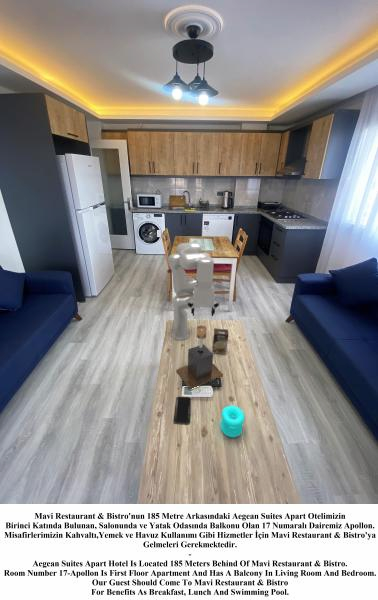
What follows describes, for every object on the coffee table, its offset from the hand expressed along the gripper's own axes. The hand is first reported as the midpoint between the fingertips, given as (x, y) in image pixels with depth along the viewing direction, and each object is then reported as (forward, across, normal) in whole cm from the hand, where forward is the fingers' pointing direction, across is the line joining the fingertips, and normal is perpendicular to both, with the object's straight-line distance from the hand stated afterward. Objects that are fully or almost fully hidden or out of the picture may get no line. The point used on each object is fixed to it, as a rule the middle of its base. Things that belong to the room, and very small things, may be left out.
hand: (202, 314), depth 122 cm
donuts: (+41, +14, -33) cm, 54 cm away
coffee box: (+40, +13, +21) cm, 48 cm away
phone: (+41, -9, -24) cm, 49 cm away
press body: (+40, 0, 0) cm, 40 cm away
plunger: (+29, 0, 0) cm, 29 cm away
